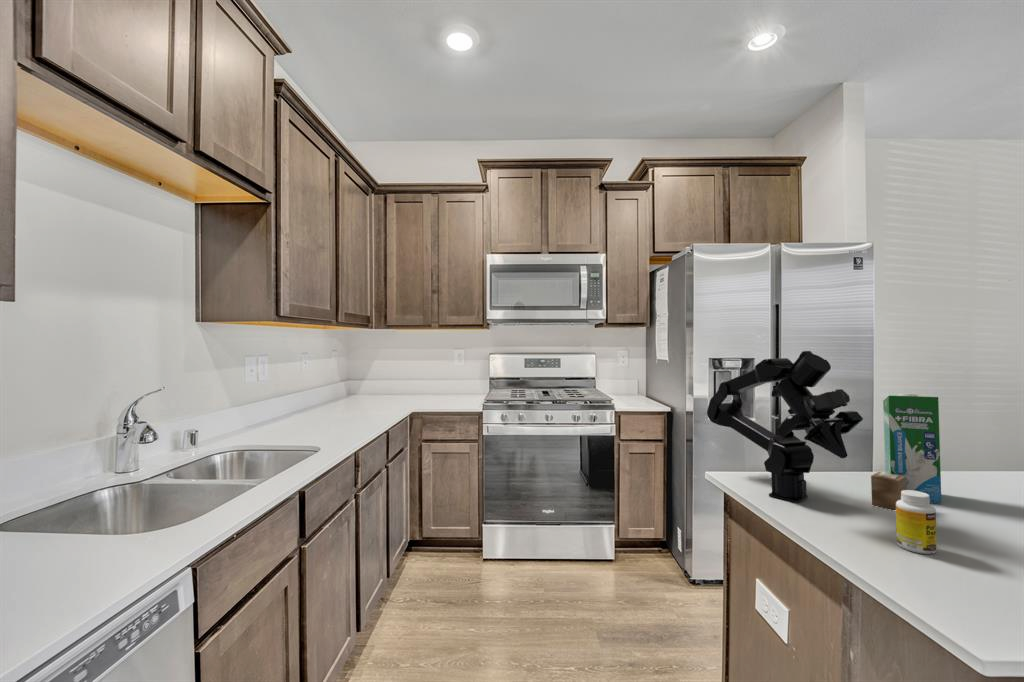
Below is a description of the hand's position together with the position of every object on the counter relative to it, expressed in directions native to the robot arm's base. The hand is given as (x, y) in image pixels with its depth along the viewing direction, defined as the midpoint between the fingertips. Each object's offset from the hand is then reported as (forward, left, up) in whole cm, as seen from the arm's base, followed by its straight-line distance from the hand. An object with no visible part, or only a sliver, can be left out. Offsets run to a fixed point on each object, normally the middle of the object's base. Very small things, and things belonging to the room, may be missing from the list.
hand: (844, 457), depth 98 cm
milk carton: (+4, +30, -14) cm, 33 cm away
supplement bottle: (+13, -5, -14) cm, 20 cm away
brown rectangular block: (+3, +17, -14) cm, 22 cm away
